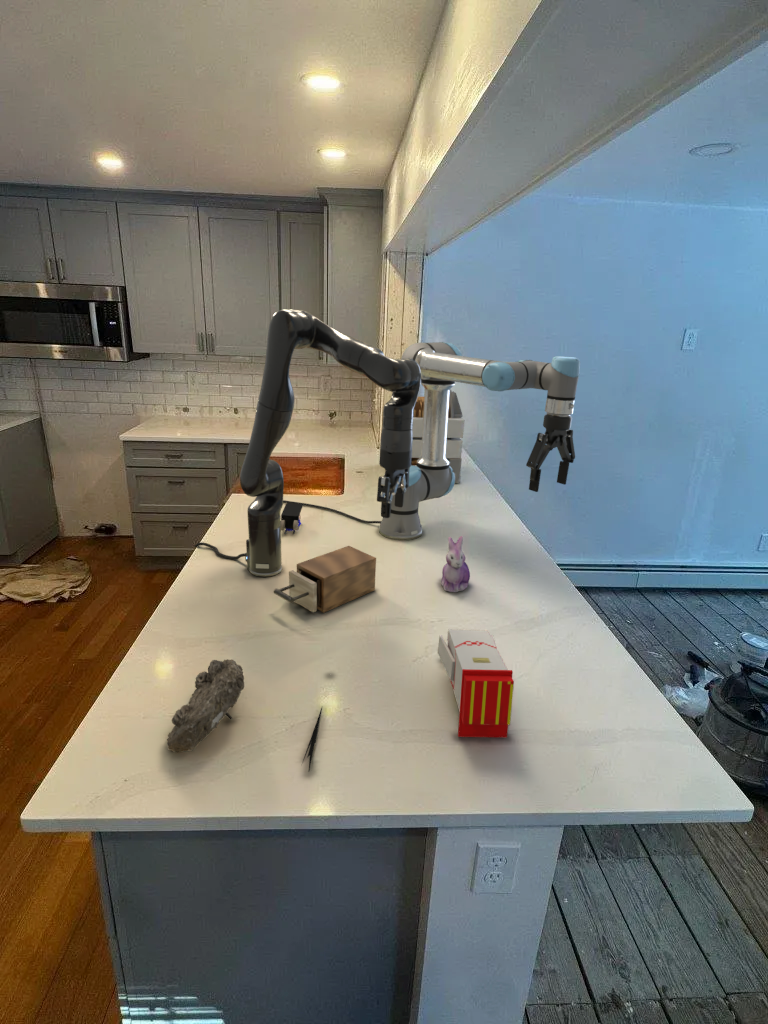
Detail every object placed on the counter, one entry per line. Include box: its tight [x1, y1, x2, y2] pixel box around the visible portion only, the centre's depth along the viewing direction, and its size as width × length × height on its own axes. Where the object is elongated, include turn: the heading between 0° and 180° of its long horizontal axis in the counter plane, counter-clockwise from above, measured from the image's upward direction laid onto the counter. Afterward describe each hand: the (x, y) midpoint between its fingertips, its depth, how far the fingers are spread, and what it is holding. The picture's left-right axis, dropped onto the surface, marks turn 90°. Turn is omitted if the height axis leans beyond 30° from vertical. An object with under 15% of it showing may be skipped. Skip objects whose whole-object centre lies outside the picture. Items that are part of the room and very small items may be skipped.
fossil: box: [166, 658, 245, 754], centre depth 106 cm, size 22×10×15 cm
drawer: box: [273, 569, 322, 613], centre depth 150 cm, size 24×10×8 cm, turn 136°
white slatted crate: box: [411, 389, 465, 484], centre depth 268 cm, size 34×33×41 cm
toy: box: [437, 628, 515, 738], centre depth 117 cm, size 12×13×30 cm
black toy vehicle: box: [280, 503, 304, 535], centre depth 198 cm, size 7×8×15 cm
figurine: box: [440, 535, 471, 593], centre depth 161 cm, size 9×10×15 cm
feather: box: [301, 673, 332, 771], centre depth 108 cm, size 2×28×2 cm
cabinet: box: [296, 545, 377, 614], centre depth 155 cm, size 19×11×10 cm, turn 136°
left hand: (392, 511), depth 138 cm, fingers open, 8 cm apart
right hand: (547, 486), depth 165 cm, fingers open, 13 cm apart
